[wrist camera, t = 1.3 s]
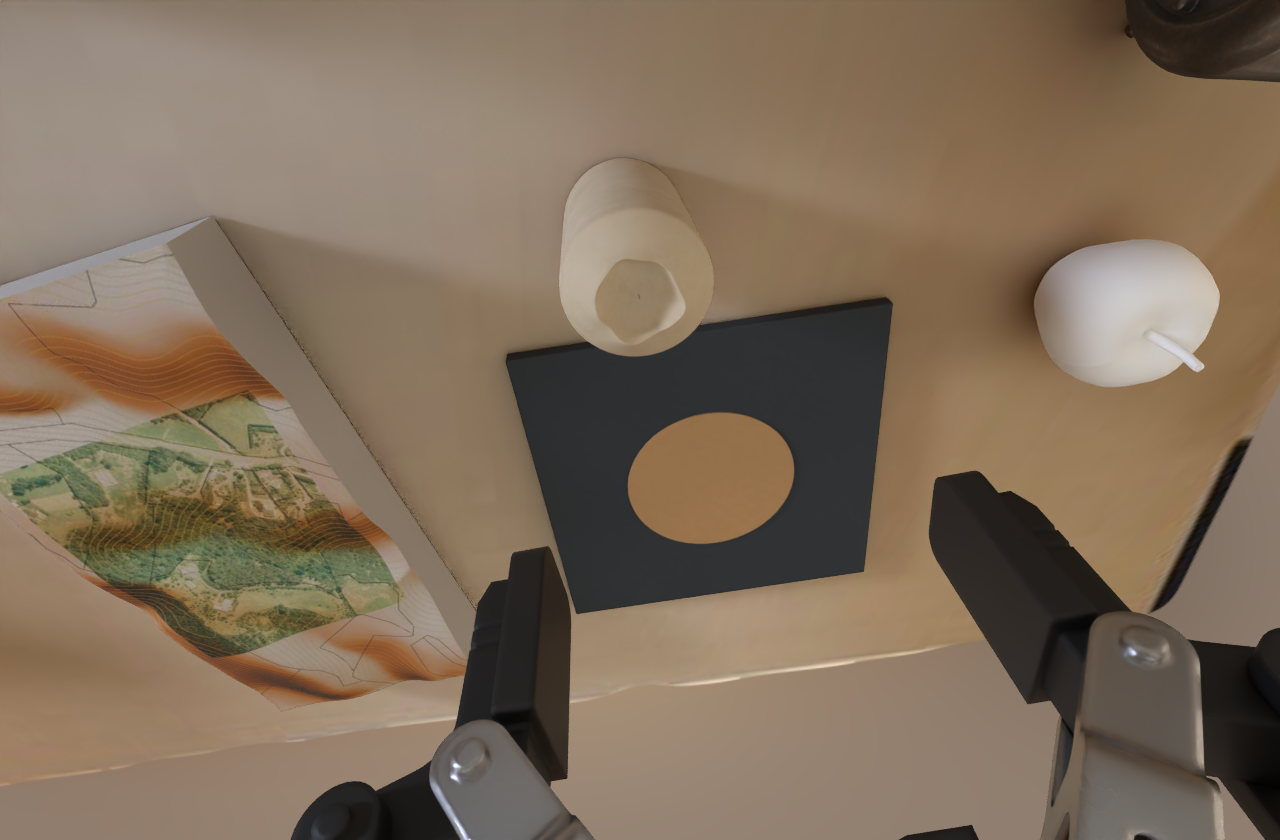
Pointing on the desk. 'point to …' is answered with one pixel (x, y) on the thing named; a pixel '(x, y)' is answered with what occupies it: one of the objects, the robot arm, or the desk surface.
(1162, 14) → the alarm clock
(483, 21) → the desk surface
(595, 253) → the candle
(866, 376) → the mat
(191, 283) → the topographic model
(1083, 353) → the plain white apple
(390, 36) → the desk surface
